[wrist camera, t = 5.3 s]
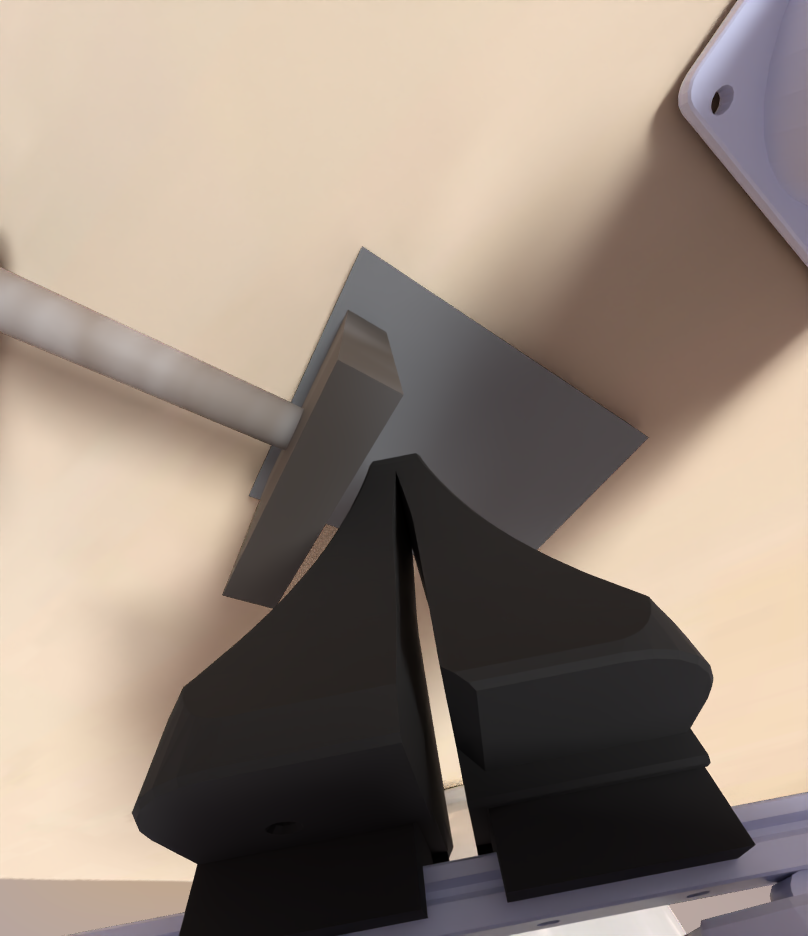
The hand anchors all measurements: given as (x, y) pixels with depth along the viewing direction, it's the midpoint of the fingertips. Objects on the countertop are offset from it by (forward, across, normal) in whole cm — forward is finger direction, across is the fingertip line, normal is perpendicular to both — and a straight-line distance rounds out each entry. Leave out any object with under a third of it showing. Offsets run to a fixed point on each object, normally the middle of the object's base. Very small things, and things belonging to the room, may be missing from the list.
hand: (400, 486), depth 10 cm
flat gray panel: (+3, -2, +2) cm, 4 cm away
